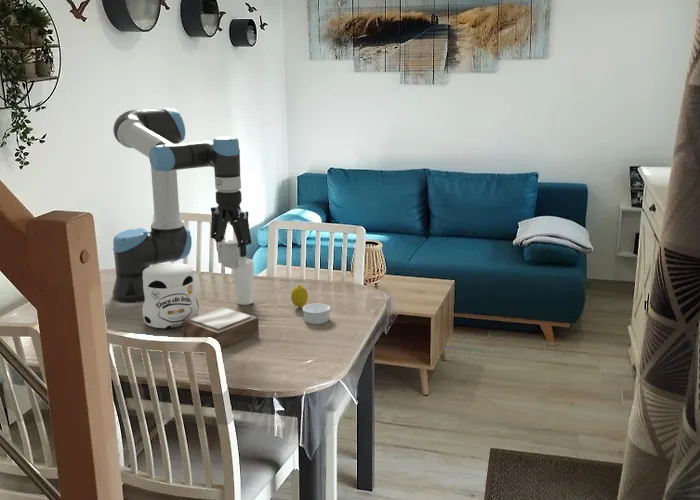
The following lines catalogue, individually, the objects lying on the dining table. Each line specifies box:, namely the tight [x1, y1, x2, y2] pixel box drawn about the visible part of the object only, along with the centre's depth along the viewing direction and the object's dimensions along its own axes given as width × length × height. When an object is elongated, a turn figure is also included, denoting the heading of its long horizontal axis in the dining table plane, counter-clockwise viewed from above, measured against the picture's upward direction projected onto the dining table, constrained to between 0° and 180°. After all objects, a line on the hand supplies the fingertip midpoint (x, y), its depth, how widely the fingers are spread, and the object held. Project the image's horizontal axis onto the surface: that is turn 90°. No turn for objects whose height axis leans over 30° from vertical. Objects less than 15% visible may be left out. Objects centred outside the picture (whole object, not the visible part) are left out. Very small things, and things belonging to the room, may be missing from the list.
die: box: [216, 239, 248, 270], centre depth 218 cm, size 8×9×10 cm
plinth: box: [182, 305, 260, 350], centre depth 218 cm, size 16×16×6 cm
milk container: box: [141, 262, 200, 331], centre depth 227 cm, size 17×17×18 cm
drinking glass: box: [233, 258, 255, 306], centre depth 246 cm, size 7×7×15 cm
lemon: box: [290, 284, 309, 309], centre depth 242 cm, size 6×6×8 cm
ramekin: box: [302, 302, 331, 325], centre depth 231 cm, size 9×9×4 cm
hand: (231, 264), depth 219 cm, fingers closed on die, 8 cm apart
